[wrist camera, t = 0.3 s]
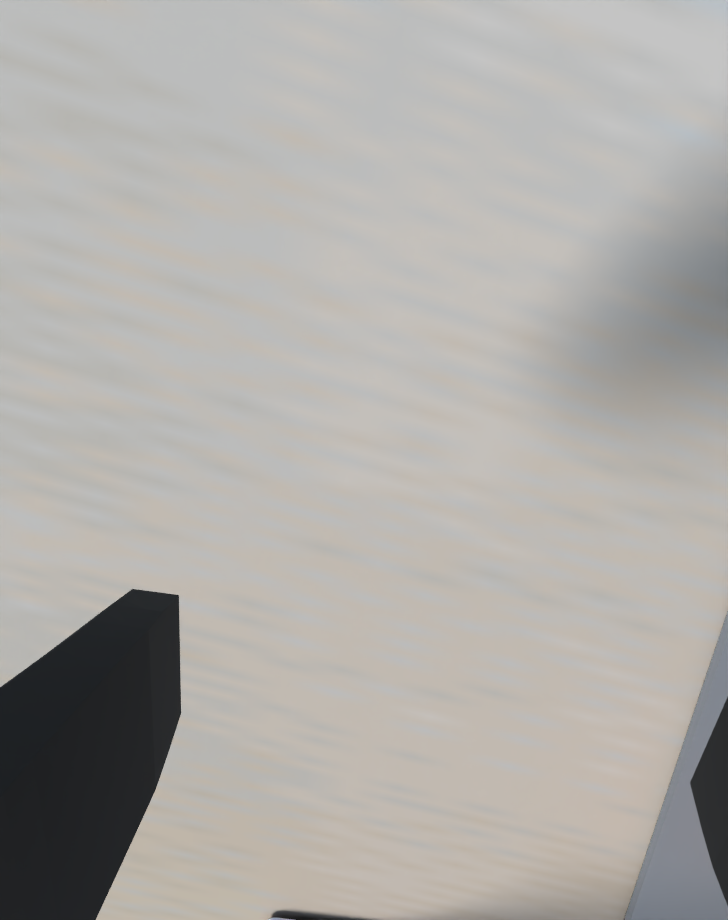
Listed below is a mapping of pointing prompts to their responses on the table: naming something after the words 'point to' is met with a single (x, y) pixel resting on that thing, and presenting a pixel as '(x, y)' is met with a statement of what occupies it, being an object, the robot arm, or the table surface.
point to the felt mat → (685, 823)
